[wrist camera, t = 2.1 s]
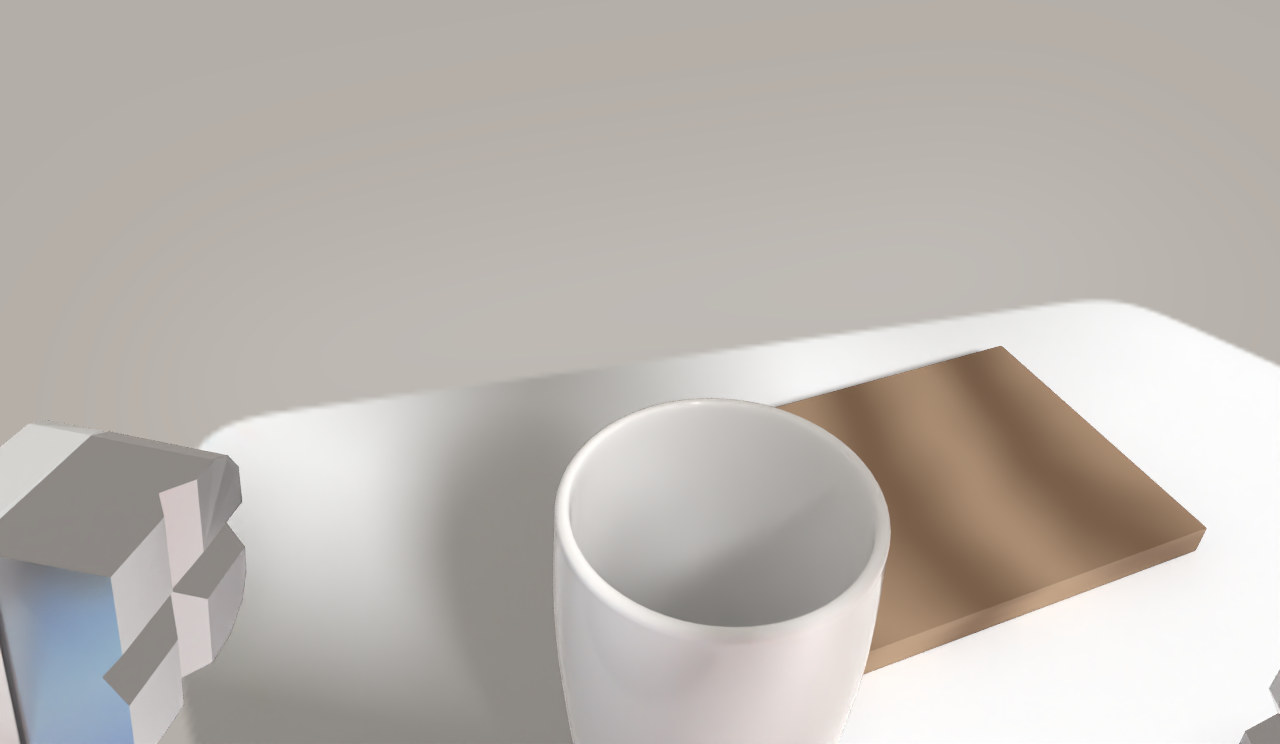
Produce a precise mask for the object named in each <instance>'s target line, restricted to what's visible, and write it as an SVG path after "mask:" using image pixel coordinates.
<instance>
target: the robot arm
mask: <svg viewBox="0 0 1280 744" xmlns="http://www.w3.org/2000/svg"><path fill="white" fill-rule="evenodd" d="M241 502H242V496H241V486H240V477H239V467H238V466H237V465H236V464H235V463H234V462H233V461H232V460H231V458H230V457H229V456H228V455H223V454H218V453H213V452H208V451H203V450H198V449H193V448H188V447H183V446H178V445H173V444H168V443H163V442H159V441H154V440H148V439H143V438H139V437H133V436H129V435H124V434H118V433H114V432H103V431H100V430H97V429H92V428H86V427H81V426H76V425H70V424H65V423H59V422H54V421H49V420H48V421H42V422H36V423H30V424H28V425H27V426H25V427H24V428H23V429H22V430H20V431H19V432H18V433H17V434H16V435H14V436H13V437H12V438H11V439H9V440H8V441H7V442H6V443H5V444H3V445H2V446H1V447H0V744H158V743H159V741H160V740H161V738H162V737H163V735H164V734H165V732H166V731H167V729H168V728H169V726H170V725H171V723H172V722H173V720H174V719H175V718H176V716H177V715H178V713H179V712H180V710H181V709H182V707H183V706H184V698H183V687H182V678H183V677H185V676H187V675H189V674H191V673H193V672H195V671H197V670H199V669H201V668H202V667H204V666H206V665H208V664H210V663H212V662H213V661H214V659H215V658H216V656H217V655H218V653H219V651H220V650H221V648H222V647H223V645H224V644H225V642H226V640H227V639H228V637H229V636H230V633H231V630H232V628H233V625H234V622H235V619H236V617H237V614H238V611H239V608H240V606H241V603H242V599H243V592H244V584H245V577H246V559H245V546H244V545H243V544H242V543H241V541H240V540H239V539H238V537H237V536H236V535H235V533H234V532H233V531H232V530H231V528H230V527H229V526H228V524H227V523H226V522H227V521H228V519H229V518H230V517H231V515H232V514H233V513H234V512H235V510H236V509H237V508H238V506H239V505H240V504H241ZM1269 690H1270V692H1271V695H1272V698H1273V701H1274V704H1275V706H1276V709H1277V712H1278V714H1276V715H1274V716H1272V717H1271V718H1269V719H1267V720H1265V721H1263V722H1261V723H1260V724H1258V725H1256V726H1254V727H1252V728H1250V729H1249V730H1247V731H1245V733H1244V735H1243V737H1242V739H1241V741H1240V743H1239V744H1280V670H1279V672H1278V674H1277V675H1276V677H1275V679H1274V681H1273V682H1272V684H1271V686H1270V688H1269Z"/></svg>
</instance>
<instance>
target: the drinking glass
mask: <svg viewBox="0 0 1280 744" xmlns="http://www.w3.org/2000/svg"><path fill="white" fill-rule="evenodd" d="M554 520H555V524H554V550H553V599H554V619H555V632H556V643H557V652H558V660H559V667H560V674H561V680H562V686H563V693H564V698H565V704H566V709H567V715H568V720H569V726H570V731H571V736H572V742H573V744H838V742H839V740H840V737H841V735H842V732H843V730H844V727H845V724H846V722H847V719H848V716H849V714H850V711H851V708H852V706H853V703H854V700H855V697H856V694H857V691H858V689H859V686H860V683H861V679H862V676H863V673H864V669H865V666H866V662H867V658H868V655H869V651H870V647H871V642H872V638H873V634H874V629H875V625H876V621H877V616H878V611H879V606H880V601H881V595H882V589H883V583H884V577H885V570H886V563H887V557H888V552H889V548H890V537H891V528H890V517H889V512H888V507H887V504H886V501H885V498H884V495H883V493H882V491H881V489H880V486H879V484H878V483H877V481H876V479H875V478H874V476H873V474H872V473H871V471H870V470H869V469H868V467H867V466H866V465H865V464H864V462H863V461H862V460H861V459H860V458H859V457H858V456H857V455H856V454H855V453H854V452H853V451H852V450H851V449H850V448H849V447H848V446H847V445H846V444H844V443H843V442H842V441H840V440H839V439H838V438H836V437H835V436H834V435H832V434H831V433H829V432H828V431H826V430H825V429H823V428H821V427H819V426H818V425H816V424H814V423H812V422H810V421H808V420H806V419H804V418H802V417H799V416H797V415H795V414H792V413H789V412H787V411H784V410H781V409H778V408H774V407H771V406H767V405H763V404H759V403H754V402H748V401H742V400H733V399H719V398H699V399H687V400H679V401H672V402H667V403H662V404H658V405H654V406H651V407H647V408H644V409H641V410H639V411H636V412H633V413H631V414H629V415H626V416H624V417H622V418H620V419H618V420H616V421H615V422H613V423H611V424H609V425H608V426H606V427H605V428H603V429H602V430H601V431H599V432H598V433H596V434H595V435H594V436H593V437H592V438H590V439H589V440H588V441H587V442H586V443H585V444H584V445H583V446H582V447H581V448H580V449H579V450H578V452H577V453H576V454H575V456H574V457H573V458H572V460H571V461H570V463H569V465H568V466H567V468H566V470H565V472H564V474H563V476H562V478H561V481H560V484H559V487H558V491H557V494H556V501H555V516H554Z"/></svg>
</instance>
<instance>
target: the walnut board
mask: <svg viewBox="0 0 1280 744" xmlns="http://www.w3.org/2000/svg"><path fill="white" fill-rule="evenodd" d="M775 408H778V409H781V410H784V411H787V412H789V413H792V414H795V415H797V416H799V417H802V418H804V419H806V420H808V421H810V422H812V423H814V424H816V425H818V426H819V427H821V428H823V429H825V430H826V431H828V432H829V433H831V434H832V435H834V436H835V437H836V438H838V439H839V440H840V441H842V442H843V443H844V444H846V445H847V446H848V447H849V448H850V449H851V450H852V451H853V452H854V453H855V454H856V455H857V456H858V457H859V458H860V459H861V460H862V461H863V462H864V464H865V465H866V466H867V467H868V469H869V470H870V471H871V473H872V474H873V476H874V478H875V479H876V481H877V483H878V484H879V486H880V489H881V491H882V493H883V495H884V498H885V501H886V504H887V507H888V512H889V517H890V528H891V537H890V548H889V552H888V557H887V563H886V570H885V577H884V583H883V589H882V595H881V601H880V606H879V611H878V616H877V621H876V625H875V629H874V634H873V638H872V642H871V647H870V651H869V655H868V658H867V662H866V666H865V669H864V673H863V674H866V673H869V672H871V671H874V670H877V669H879V668H882V667H885V666H887V665H890V664H893V663H895V662H898V661H901V660H903V659H906V658H909V657H911V656H914V655H917V654H919V653H922V652H925V651H927V650H930V649H933V648H936V647H938V646H941V645H944V644H946V643H949V642H952V641H954V640H957V639H960V638H962V637H965V636H968V635H970V634H973V633H976V632H978V631H981V630H984V629H986V628H989V627H992V626H994V625H997V624H1000V623H1002V622H1005V621H1008V620H1011V619H1013V618H1016V617H1019V616H1021V615H1024V614H1027V613H1029V612H1032V611H1035V610H1037V609H1040V608H1043V607H1045V606H1048V605H1051V604H1053V603H1056V602H1059V601H1061V600H1064V599H1067V598H1069V597H1072V596H1075V595H1077V594H1080V593H1083V592H1086V591H1088V590H1091V589H1094V588H1096V587H1099V586H1102V585H1104V584H1107V583H1110V582H1112V581H1115V580H1118V579H1120V578H1123V577H1126V576H1128V575H1131V574H1134V573H1136V572H1139V571H1142V570H1144V569H1147V568H1150V567H1152V566H1155V565H1158V564H1160V563H1163V562H1166V561H1169V560H1171V559H1174V558H1177V557H1179V556H1182V555H1185V554H1187V553H1190V552H1193V551H1195V550H1196V549H1197V547H1198V545H1199V543H1200V541H1201V539H1202V537H1203V535H1204V533H1205V531H1206V527H1205V526H1204V525H1203V524H1201V523H1200V522H1199V521H1198V520H1197V519H1196V518H1195V517H1194V516H1192V515H1191V514H1190V513H1189V512H1188V511H1187V510H1186V509H1185V508H1183V507H1182V506H1181V505H1180V504H1179V503H1178V502H1177V501H1176V500H1174V499H1173V498H1172V497H1171V496H1170V495H1169V494H1168V493H1167V492H1165V491H1164V490H1163V489H1162V488H1161V487H1160V486H1159V485H1158V484H1156V483H1155V482H1154V481H1153V480H1152V479H1151V478H1150V477H1149V476H1147V475H1146V474H1145V473H1144V472H1143V471H1142V470H1141V469H1140V468H1138V467H1137V466H1136V465H1135V464H1134V463H1133V462H1132V461H1131V460H1129V459H1128V458H1127V457H1126V456H1125V455H1124V454H1123V453H1122V452H1120V451H1119V450H1118V449H1117V448H1116V447H1115V446H1114V445H1113V444H1111V443H1110V442H1109V441H1108V440H1107V439H1106V438H1105V437H1104V436H1102V435H1101V434H1100V433H1099V432H1098V431H1097V430H1096V429H1095V428H1093V427H1092V426H1091V425H1090V424H1089V423H1088V422H1087V421H1086V420H1084V419H1083V418H1082V417H1081V416H1080V415H1079V414H1078V413H1077V412H1075V411H1074V410H1073V409H1072V408H1071V407H1070V406H1069V405H1068V404H1066V403H1065V402H1064V401H1063V400H1062V399H1061V398H1060V397H1059V396H1057V395H1056V394H1055V393H1054V392H1053V391H1052V390H1051V389H1050V388H1048V387H1047V386H1046V385H1045V384H1044V383H1043V382H1042V381H1041V380H1039V379H1038V378H1037V377H1036V376H1035V375H1034V374H1033V373H1032V372H1030V371H1029V370H1028V369H1027V368H1026V367H1025V366H1024V365H1023V364H1021V363H1020V362H1019V361H1018V360H1017V359H1016V358H1015V357H1014V356H1012V355H1011V354H1010V353H1009V352H1008V351H1007V350H1006V349H1005V348H1003V347H1002V346H998V347H995V348H991V349H987V350H984V351H980V352H976V353H973V354H969V355H965V356H962V357H958V358H954V359H951V360H947V361H943V362H940V363H936V364H932V365H929V366H925V367H922V368H918V369H914V370H911V371H907V372H903V373H900V374H896V375H892V376H889V377H885V378H881V379H878V380H874V381H870V382H867V383H863V384H859V385H856V386H852V387H848V388H845V389H841V390H837V391H834V392H830V393H826V394H823V395H819V396H815V397H812V398H808V399H804V400H801V401H797V402H793V403H790V404H786V405H782V406H779V407H775Z"/></svg>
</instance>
